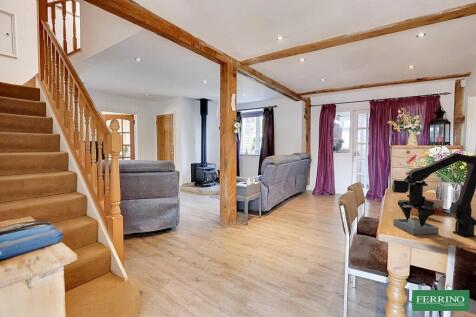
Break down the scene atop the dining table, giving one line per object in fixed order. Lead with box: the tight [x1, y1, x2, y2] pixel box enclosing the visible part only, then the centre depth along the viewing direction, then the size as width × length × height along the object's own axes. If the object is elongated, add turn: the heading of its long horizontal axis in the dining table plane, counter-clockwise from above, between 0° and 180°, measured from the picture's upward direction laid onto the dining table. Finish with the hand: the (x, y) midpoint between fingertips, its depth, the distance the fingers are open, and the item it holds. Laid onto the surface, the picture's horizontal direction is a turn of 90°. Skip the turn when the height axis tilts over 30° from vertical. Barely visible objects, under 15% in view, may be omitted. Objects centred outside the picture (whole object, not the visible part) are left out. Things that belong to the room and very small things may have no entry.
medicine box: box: [425, 197, 444, 215], centre depth 157 cm, size 15×8×8 cm, turn 61°
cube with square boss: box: [408, 217, 421, 227], centre depth 125 cm, size 4×4×6 cm
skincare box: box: [410, 206, 423, 217], centre depth 149 cm, size 6×4×12 cm
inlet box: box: [393, 218, 439, 236], centre depth 125 cm, size 14×13×4 cm
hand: (414, 223), depth 125 cm, fingers open, 9 cm apart
